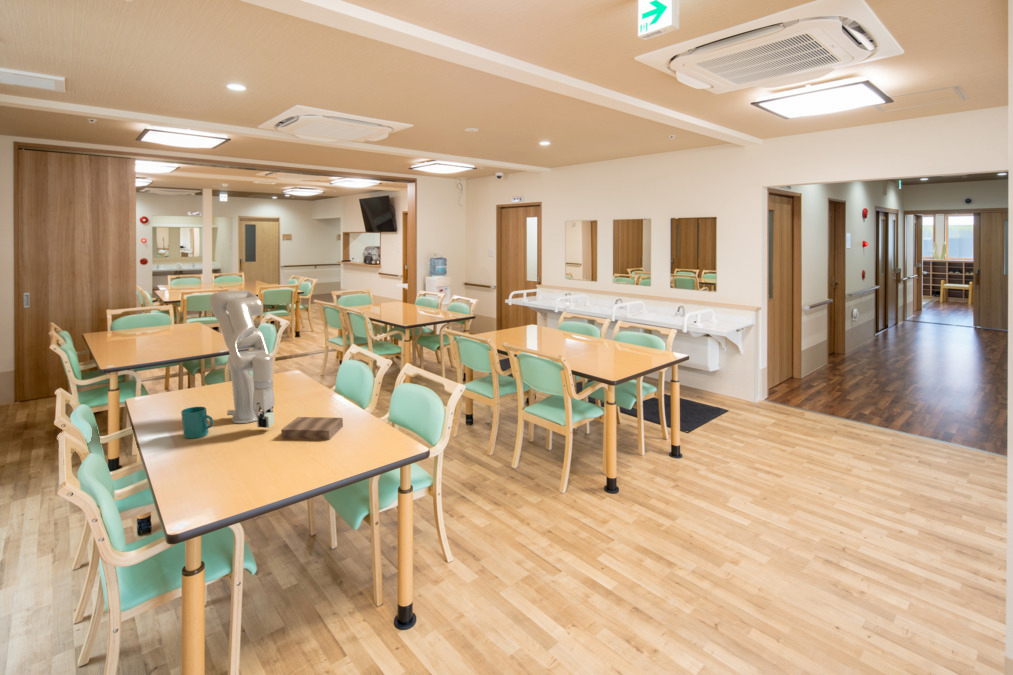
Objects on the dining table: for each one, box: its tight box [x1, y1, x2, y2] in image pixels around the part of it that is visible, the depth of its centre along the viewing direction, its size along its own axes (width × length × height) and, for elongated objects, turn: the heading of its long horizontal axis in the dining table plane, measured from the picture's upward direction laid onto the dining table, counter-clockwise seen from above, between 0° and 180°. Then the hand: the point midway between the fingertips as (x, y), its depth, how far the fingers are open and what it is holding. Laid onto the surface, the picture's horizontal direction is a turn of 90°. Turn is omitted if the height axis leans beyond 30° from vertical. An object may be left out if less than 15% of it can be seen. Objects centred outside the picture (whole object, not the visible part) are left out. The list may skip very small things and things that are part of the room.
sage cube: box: [256, 411, 275, 429], centre depth 229 cm, size 5×5×5 cm
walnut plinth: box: [280, 416, 344, 441], centre depth 228 cm, size 20×16×4 cm
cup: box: [180, 406, 215, 439], centre depth 223 cm, size 9×12×11 cm
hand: (265, 424), depth 229 cm, fingers closed on sage cube, 5 cm apart
